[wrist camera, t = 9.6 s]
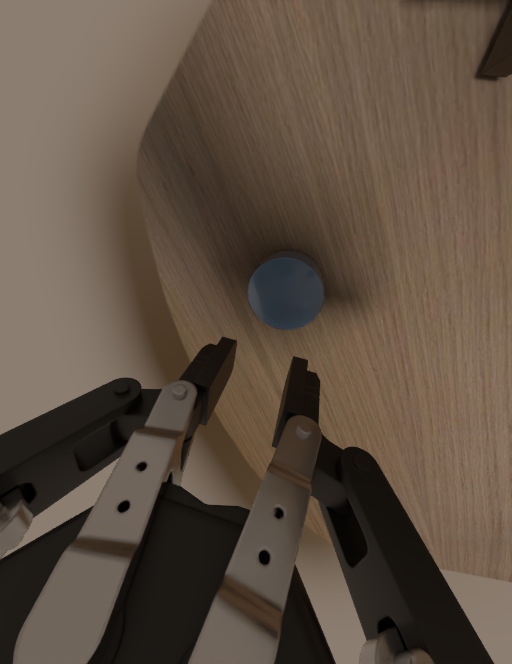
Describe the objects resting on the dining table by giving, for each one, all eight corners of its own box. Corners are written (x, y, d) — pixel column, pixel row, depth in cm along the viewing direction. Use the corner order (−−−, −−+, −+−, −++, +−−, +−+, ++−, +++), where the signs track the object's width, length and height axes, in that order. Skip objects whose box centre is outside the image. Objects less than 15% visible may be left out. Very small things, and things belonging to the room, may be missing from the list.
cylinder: (241, 288, 24) (233, 299, 22) (283, 233, 21) (278, 240, 19) (292, 329, 25) (289, 343, 23) (340, 282, 22) (341, 293, 20)
